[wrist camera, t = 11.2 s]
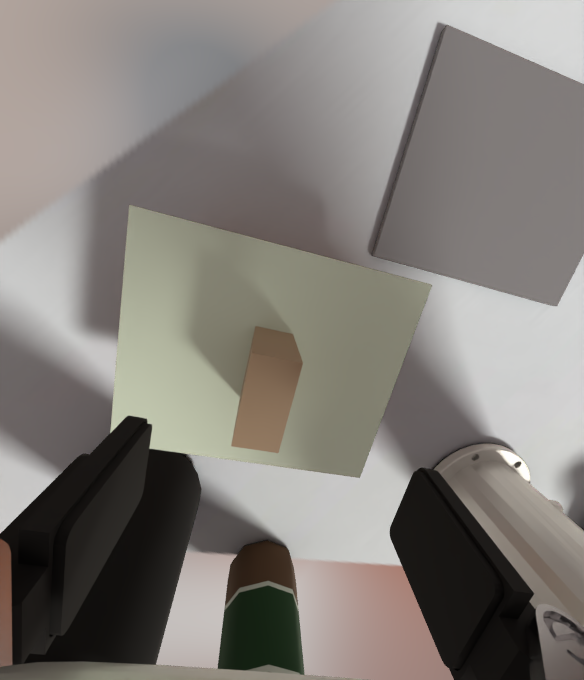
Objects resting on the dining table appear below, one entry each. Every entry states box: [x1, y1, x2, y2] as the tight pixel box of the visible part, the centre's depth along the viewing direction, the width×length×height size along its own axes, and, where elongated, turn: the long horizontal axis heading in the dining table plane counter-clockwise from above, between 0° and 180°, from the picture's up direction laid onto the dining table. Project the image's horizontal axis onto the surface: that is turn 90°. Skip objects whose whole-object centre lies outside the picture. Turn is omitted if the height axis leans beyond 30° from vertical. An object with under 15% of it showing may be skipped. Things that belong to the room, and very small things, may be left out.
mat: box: [372, 25, 584, 306], centre depth 23 cm, size 19×16×1 cm
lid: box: [110, 205, 432, 478], centre depth 16 cm, size 18×15×6 cm
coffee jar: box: [23, 449, 201, 665], centre depth 20 cm, size 11×11×18 cm
